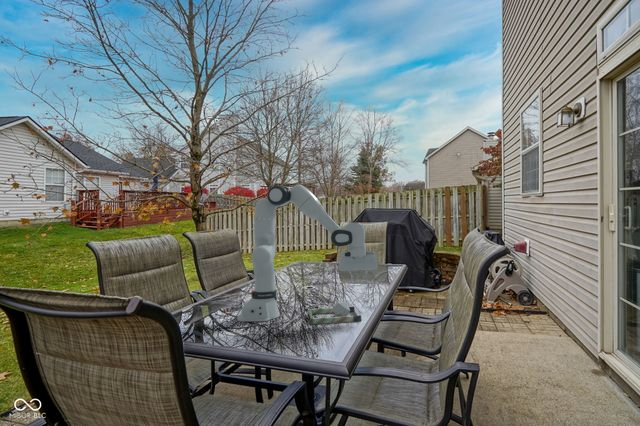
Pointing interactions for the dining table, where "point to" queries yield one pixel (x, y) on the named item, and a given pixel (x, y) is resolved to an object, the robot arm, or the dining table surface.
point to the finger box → (333, 319)
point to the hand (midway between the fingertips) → (358, 278)
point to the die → (341, 309)
